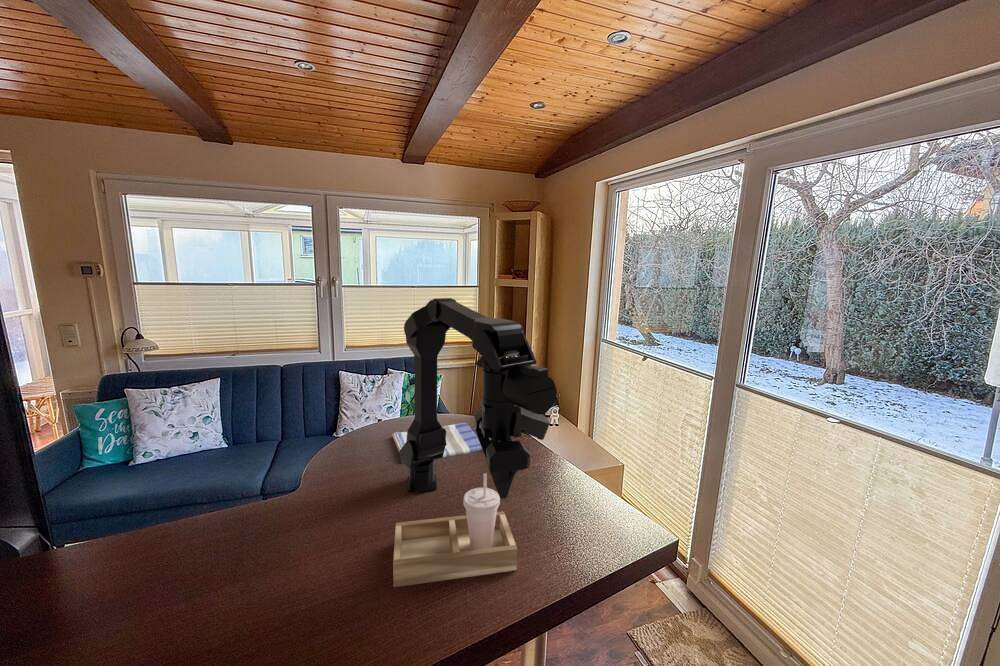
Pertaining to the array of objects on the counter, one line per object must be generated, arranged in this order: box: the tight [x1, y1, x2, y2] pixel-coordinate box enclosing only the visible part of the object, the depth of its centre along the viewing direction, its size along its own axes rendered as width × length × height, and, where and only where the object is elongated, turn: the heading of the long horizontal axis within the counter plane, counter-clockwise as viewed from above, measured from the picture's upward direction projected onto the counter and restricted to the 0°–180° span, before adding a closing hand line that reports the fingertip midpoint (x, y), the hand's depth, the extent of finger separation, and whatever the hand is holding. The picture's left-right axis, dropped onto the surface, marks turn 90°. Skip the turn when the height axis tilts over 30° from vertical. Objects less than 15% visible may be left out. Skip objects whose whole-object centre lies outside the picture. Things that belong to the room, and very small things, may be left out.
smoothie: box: [462, 472, 501, 550], centre depth 70 cm, size 6×6×14 cm
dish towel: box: [391, 422, 483, 464], centre depth 114 cm, size 17×24×3 cm
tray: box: [392, 511, 518, 588], centre depth 70 cm, size 10×20×4 cm, turn 102°
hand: (497, 483), depth 70 cm, fingers open, 9 cm apart
